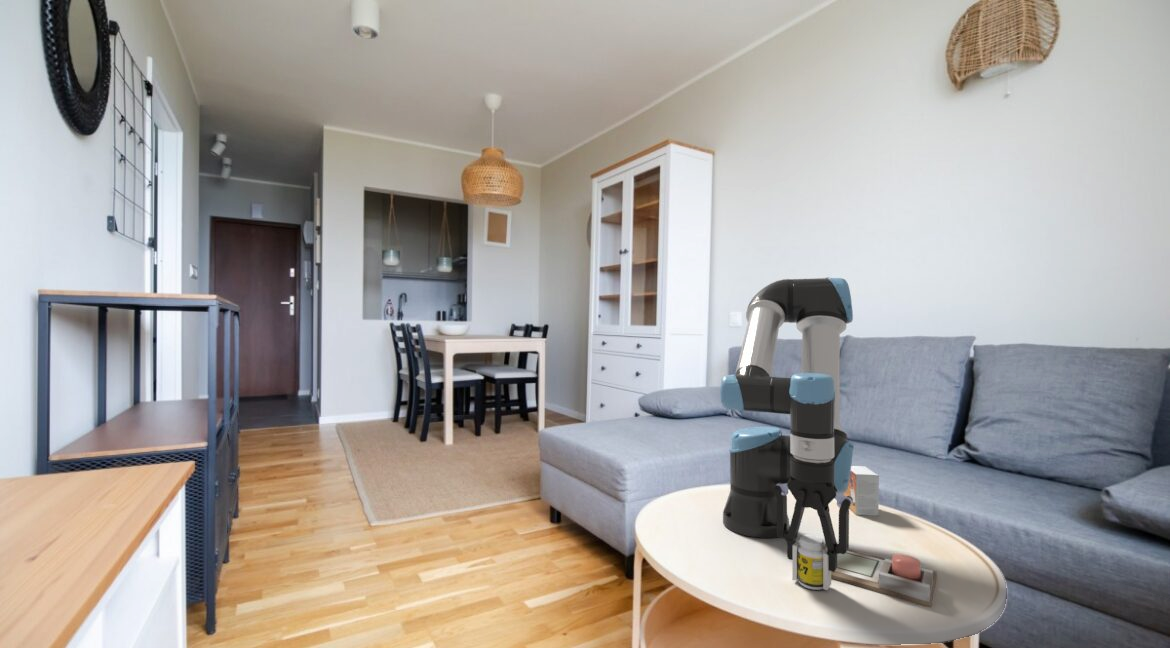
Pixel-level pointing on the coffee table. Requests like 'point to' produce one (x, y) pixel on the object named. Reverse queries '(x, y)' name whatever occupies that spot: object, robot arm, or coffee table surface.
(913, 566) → the button
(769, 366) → the robot arm
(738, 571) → the coffee table surface
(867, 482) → the small box
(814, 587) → the supplement bottle
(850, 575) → the board
